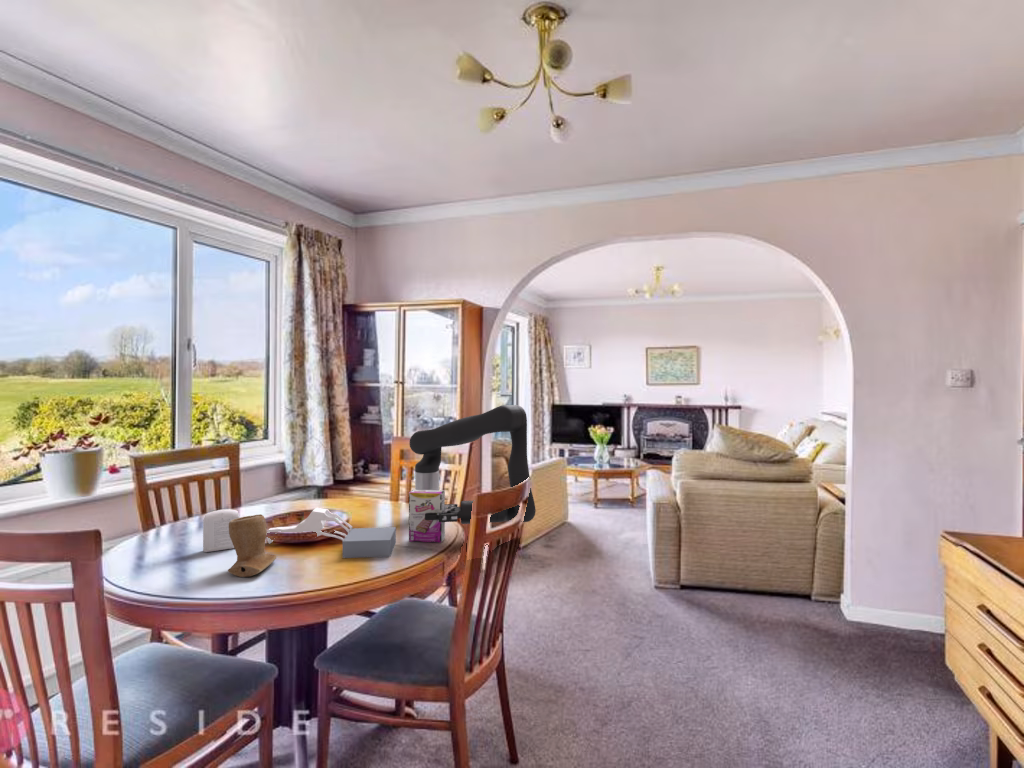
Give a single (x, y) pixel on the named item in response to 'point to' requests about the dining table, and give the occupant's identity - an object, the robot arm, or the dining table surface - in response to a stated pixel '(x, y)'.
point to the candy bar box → (417, 508)
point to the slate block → (369, 542)
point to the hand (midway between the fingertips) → (425, 513)
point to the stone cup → (249, 545)
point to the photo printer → (218, 530)
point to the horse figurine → (314, 524)
